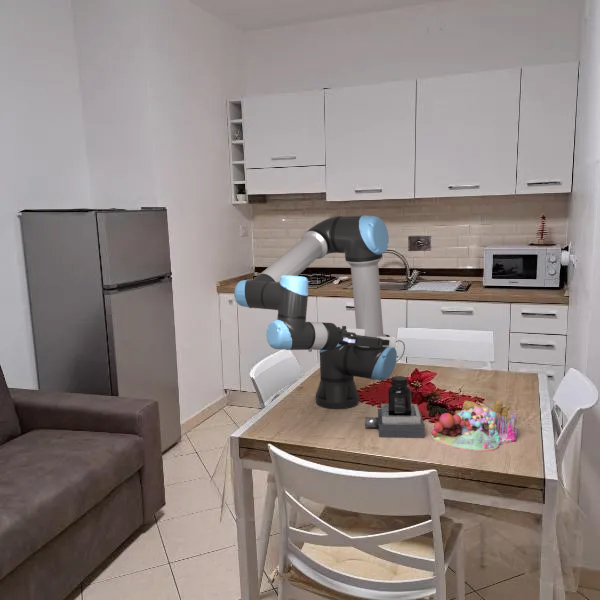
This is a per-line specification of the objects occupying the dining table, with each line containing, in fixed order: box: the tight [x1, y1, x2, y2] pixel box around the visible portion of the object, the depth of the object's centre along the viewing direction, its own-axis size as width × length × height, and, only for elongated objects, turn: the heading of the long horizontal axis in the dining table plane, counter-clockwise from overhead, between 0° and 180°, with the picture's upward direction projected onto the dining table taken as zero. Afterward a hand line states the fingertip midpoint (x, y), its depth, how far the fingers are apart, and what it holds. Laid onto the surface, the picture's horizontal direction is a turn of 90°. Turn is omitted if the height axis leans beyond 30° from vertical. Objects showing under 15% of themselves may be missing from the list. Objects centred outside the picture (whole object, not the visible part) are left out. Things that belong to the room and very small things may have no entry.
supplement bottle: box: [387, 375, 412, 416], centre depth 167 cm, size 7×7×12 cm
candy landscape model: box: [430, 399, 518, 453], centre depth 162 cm, size 25×24×9 cm
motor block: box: [364, 403, 425, 439], centre depth 168 cm, size 17×13×6 cm
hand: (379, 337), depth 163 cm, fingers open, 13 cm apart
